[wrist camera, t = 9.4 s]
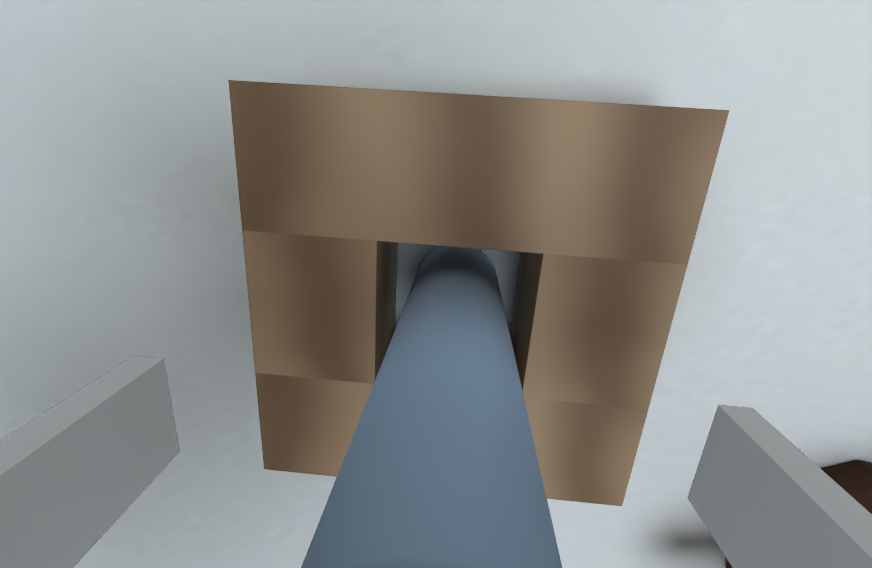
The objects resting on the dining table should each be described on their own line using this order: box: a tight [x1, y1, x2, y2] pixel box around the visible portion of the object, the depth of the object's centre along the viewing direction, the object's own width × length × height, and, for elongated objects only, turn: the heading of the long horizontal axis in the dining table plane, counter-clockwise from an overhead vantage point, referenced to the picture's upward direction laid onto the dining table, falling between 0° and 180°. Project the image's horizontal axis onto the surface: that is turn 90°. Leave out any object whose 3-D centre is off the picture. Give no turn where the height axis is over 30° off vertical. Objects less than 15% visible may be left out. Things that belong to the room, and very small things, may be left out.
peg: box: [301, 246, 562, 568], centre depth 13 cm, size 4×4×16 cm
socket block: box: [229, 80, 729, 506], centre depth 18 cm, size 16×16×5 cm
